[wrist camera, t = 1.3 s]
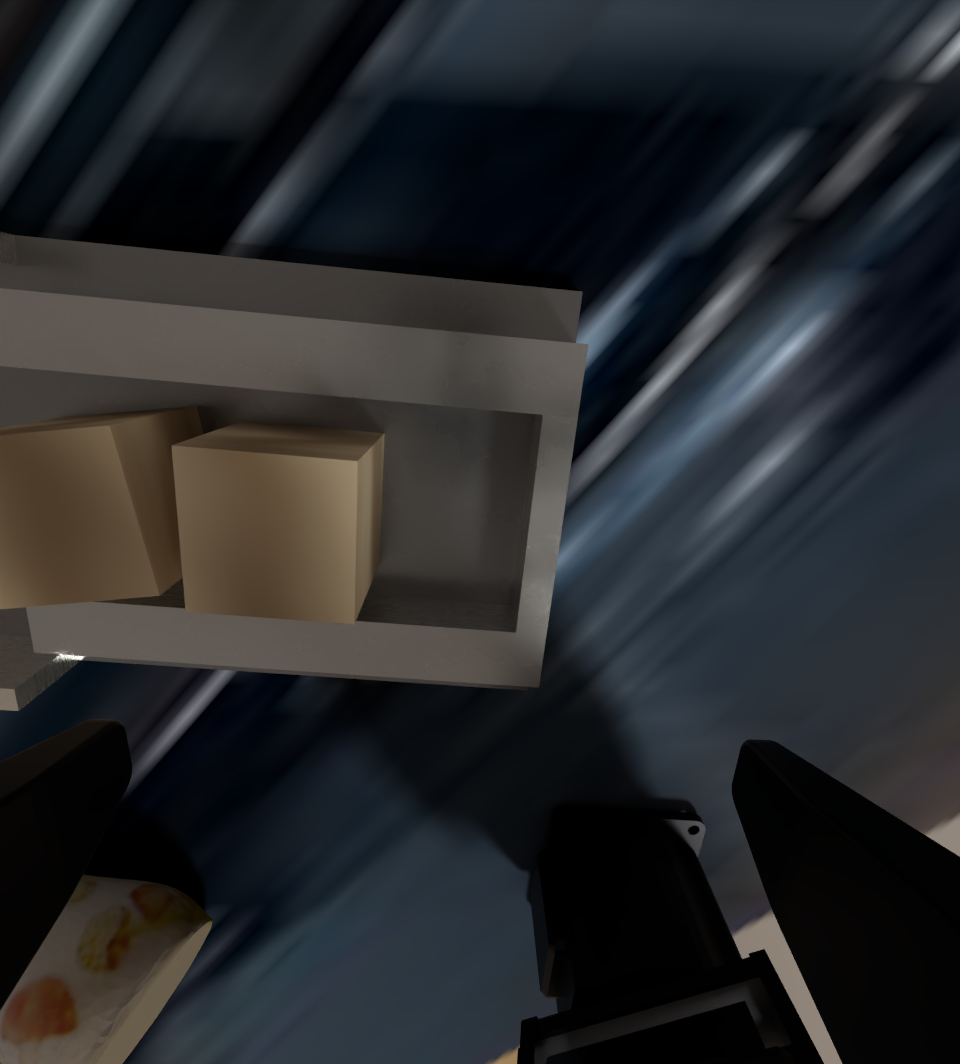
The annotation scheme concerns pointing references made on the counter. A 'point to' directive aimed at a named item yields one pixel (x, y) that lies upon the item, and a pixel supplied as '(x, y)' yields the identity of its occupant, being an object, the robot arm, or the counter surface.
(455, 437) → the rail board
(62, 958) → the cream ceramic pitcher
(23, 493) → the chip
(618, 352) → the counter surface
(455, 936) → the counter surface
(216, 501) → the chip
